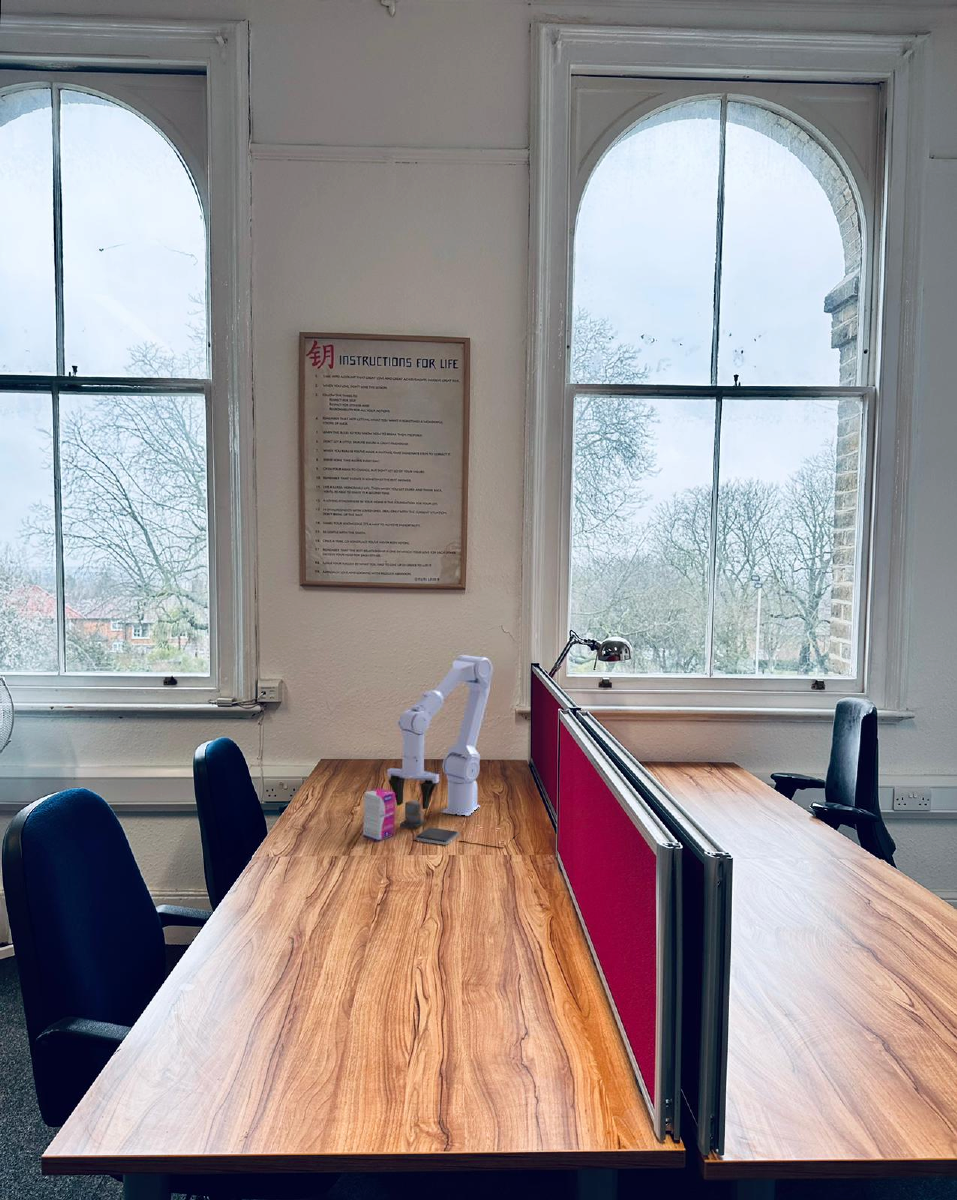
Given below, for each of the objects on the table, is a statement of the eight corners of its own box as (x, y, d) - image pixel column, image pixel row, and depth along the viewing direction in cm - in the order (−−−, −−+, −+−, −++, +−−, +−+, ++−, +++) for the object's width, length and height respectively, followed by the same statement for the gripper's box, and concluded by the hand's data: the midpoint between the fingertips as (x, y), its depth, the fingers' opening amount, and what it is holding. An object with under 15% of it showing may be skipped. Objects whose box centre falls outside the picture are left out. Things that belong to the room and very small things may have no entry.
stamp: (408, 821, 203) (408, 799, 203) (425, 824, 201) (425, 801, 201) (399, 827, 198) (400, 804, 198) (416, 829, 197) (416, 807, 196)
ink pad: (427, 830, 196) (427, 826, 196) (459, 835, 193) (459, 831, 193) (414, 840, 189) (414, 836, 188) (446, 845, 185) (446, 841, 185)
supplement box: (379, 842, 187) (379, 796, 187) (362, 836, 191) (362, 792, 190) (395, 835, 192) (395, 791, 191) (378, 830, 195) (379, 787, 195)
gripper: (381, 756, 198) (381, 806, 199) (431, 762, 193) (430, 814, 193) (394, 750, 205) (393, 799, 205) (442, 756, 199) (442, 806, 200)
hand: (412, 806), depth 200 cm, fingers open, 7 cm apart
